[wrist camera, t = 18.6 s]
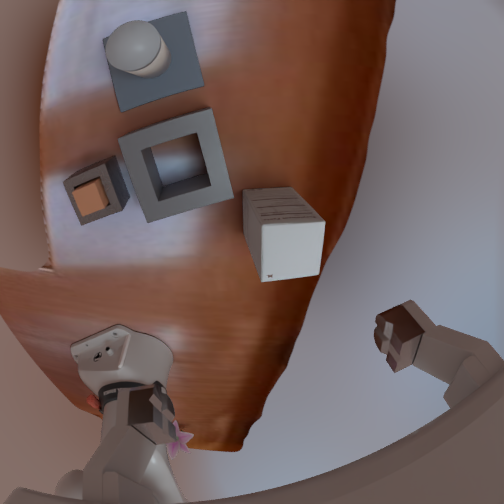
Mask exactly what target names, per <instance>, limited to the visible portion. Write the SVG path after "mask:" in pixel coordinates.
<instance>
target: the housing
mask: <svg viewBox="0 0 504 504" xmlns="http://www.w3.org/2000/svg"><path fill="white" fill-rule="evenodd" d="M196 132H197V134H198V138H199V142H200V145H201V149H202V153H203V157H204V160H205V164H206V168H207V171H208V173H207V174H204V175H200V176H197V177H193V178H190V179H186V180H183V181H180V182H177V183H173V184H170V185H167V186H164V187H163V185H162V182H161V179H160V176H159V173H158V170H157V167H156V163H155V160H154V157H153V154H152V151H151V148H150V147H151V146H154V145H157V144H160V143H163V142H166V141H170V140H173V139H176V138H179V137H183V136H186V135H189V134H193V133H196ZM118 142H119V145H120V148H121V151H122V154H123V157H124V160H125V163H126V166H127V169H128V172H129V175H130V178H131V181H132V183H133V186H134V189H135V192H136V194H137V197H138V200H139V202H140V205H141V208H142V210H143V213H144V215H145V218H146V220H147V223H150V222H153V221H156V220H160V219H163V218H166V217H169V216H173V215H176V214H179V213H182V212H186V211H189V210H193V209H196V208H200V207H203V206H207V205H210V204H214V203H217V202H221V201H224V200H228V199H232V198H234V195H233V191H232V187H231V183H230V179H229V175H228V172H227V168H226V164H225V160H224V156H223V152H222V148H221V144H220V140H219V136H218V132H217V128H216V124H215V120H214V116H213V112H212V108H210V107H208V108H204V109H200V110H197V111H193V112H190V113H186V114H183V115H179V116H176V117H173V118H169V119H166V120H163V121H160V122H157V123H154V124H151V125H148V126H145V127H142V128H140V129H137V130H134V131H131V132H129V133H127V134H125V135H124V136H122V137H120V138H118Z"/></svg>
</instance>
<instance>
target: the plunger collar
mask: <svg viewBox="0 0 504 504" xmlns="http://www.w3.org/2000/svg"><path fill="white" fill-rule="evenodd" d="M98 176H100V178H101V181H102V184H103V186H104V189H105V192H106V194H107V197H108V199H109V203H108V204H107V206H106V207H105V208H104V209H101V210H98V211H96V212H93V213H91V214H88V215H85V216H83V217H82V215H81V213H80V210H79V208H78V206H77V203H76V201H75V199H74V196H73V194H72V192H73V191H74V190H75V189H76V188H77V187H78V186H79V185H81V184H82V183H84V182H86V181H89V180H91V179H94V178H96V177H98ZM63 184H64V186H65V189H66V191H67V194H68V196H69V198H70V201H71V203H72V206H73V208H74V210H75V212H76V215H77V217H78V219H79V221H80V224H81V226H82V225H84V224H87V223H90V222H92V221H95V220H98V219H100V218H103V217H106V216H108V215H111V214H114V213H117V212H120V211H122V210H123V209H124V207H125V205H126V203H127V202H128V200H129V198H130V195H129V193H128V190H127V187H126V184H125V182H124V179H123V176H122V173H121V171H120V168H119V165H118V162H117V159H116V156H115V155H114V156H112V157H109V158H107V159H104V160H102V161H100V162H97V163H95V164H92V165H90V166H88V167H86V168H83V169H81V170H79V171H77V172H75V173H74V174H73V175H71V176H70V177H69V178H67V179H66V180H65V181H64V182H63Z"/></svg>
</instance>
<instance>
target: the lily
mask: <svg viewBox="0 0 504 504" xmlns="http://www.w3.org/2000/svg"><path fill="white" fill-rule="evenodd" d="M173 425H174V426H175V427H176V439H177V442H173V443H166V446H167V451H168V454H169V456H170V458H171V459H172V460H173V459H174V458H175V456H176V455H177V453H178V452H179V450H181V451H183V452H185V453H189V454H190V453H191V452H190V450H189V449H188V447H187V445H186V444H185V443H187V442H188V441H189V440H190V439H191V438H192V437H193V436H194V435H193V434H192V433H187V432H183V431H181V432H180V430H179V427H178V423H177V421H176V420H175V421H174V422H173Z"/></svg>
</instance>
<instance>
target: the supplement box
mask: <svg viewBox="0 0 504 504" xmlns="http://www.w3.org/2000/svg"><path fill="white" fill-rule="evenodd" d="M324 230H325V221H324V220H323V219H322V218H321V217H320V216H319V215H318V214H317V213H316V211H315V210H314V209H313V208H312V207H311V206H310V205H309V204H308V203H307V202H306V201H305V200H304V199H303V198H302V197H301V196H300V195H299V194H298V193H297V192H296V191H295V190H294V189H293V188H292V187H279V188H260V189H246V190H243V231H244V236H245V239H246V242H247V244H248V247H249V250H250V253H251V255H252V258H253V261H254V264H255V266H256V269H257V272H258V275H259V277H260V280H261V282H266V281H275V280H283V279H291V278H298V277H306V276H313V275H318V274H319V270H320V262H321V255H322V247H323V238H324Z"/></svg>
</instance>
